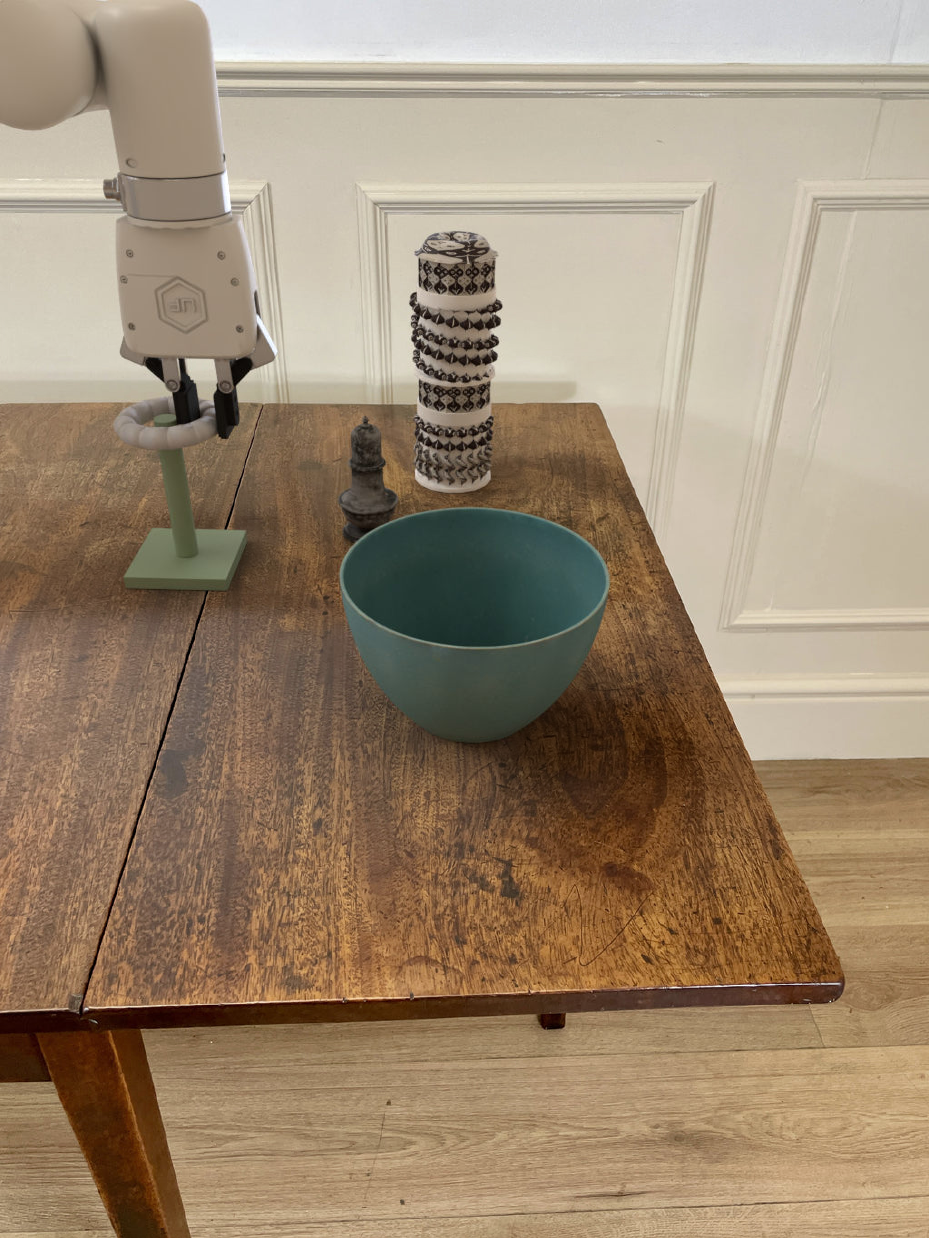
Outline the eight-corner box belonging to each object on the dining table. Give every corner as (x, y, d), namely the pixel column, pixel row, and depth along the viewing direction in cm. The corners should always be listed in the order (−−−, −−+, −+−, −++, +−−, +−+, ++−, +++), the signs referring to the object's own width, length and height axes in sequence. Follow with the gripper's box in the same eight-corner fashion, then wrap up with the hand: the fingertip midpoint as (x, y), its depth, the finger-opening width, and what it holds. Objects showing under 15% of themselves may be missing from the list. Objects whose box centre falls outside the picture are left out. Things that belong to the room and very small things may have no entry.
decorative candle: (467, 502, 98) (474, 253, 84) (394, 480, 102) (389, 238, 88) (509, 471, 105) (523, 234, 91) (440, 452, 109) (442, 222, 95)
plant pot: (526, 832, 60) (538, 681, 53) (297, 736, 67) (283, 592, 61) (627, 682, 74) (648, 546, 67) (428, 616, 81) (428, 486, 74)
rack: (125, 588, 83) (93, 438, 75) (154, 538, 91) (128, 397, 83) (227, 591, 83) (206, 441, 75) (247, 541, 91) (230, 399, 83)
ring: (103, 453, 76) (98, 432, 75) (134, 412, 83) (130, 392, 82) (212, 453, 76) (209, 432, 75) (233, 413, 83) (231, 393, 82)
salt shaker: (326, 534, 92) (319, 418, 85) (364, 512, 96) (360, 399, 89) (374, 552, 89) (370, 433, 83) (411, 528, 94) (410, 413, 87)
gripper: (49, 205, 66) (101, 448, 76) (277, 211, 66) (298, 453, 77) (86, 186, 72) (129, 413, 83) (294, 191, 72) (311, 417, 83)
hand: (210, 430), depth 80 cm, fingers closed on ring, 2 cm apart
